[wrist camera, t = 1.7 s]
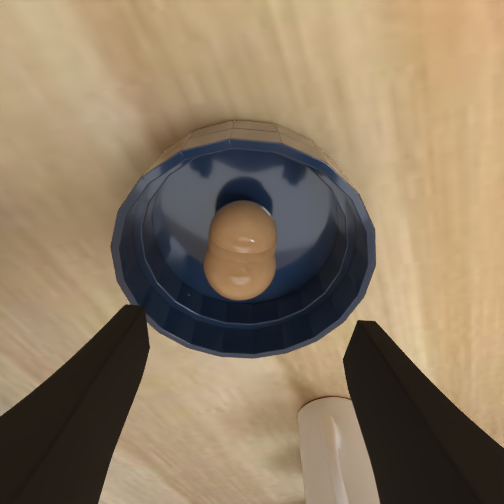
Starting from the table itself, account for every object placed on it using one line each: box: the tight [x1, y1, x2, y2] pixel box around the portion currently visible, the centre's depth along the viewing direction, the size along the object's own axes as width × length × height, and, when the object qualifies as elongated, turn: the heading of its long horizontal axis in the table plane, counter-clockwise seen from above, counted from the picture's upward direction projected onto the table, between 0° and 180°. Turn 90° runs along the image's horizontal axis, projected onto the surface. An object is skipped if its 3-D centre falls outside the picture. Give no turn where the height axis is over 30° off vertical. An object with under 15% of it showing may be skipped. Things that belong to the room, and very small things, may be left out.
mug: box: [297, 397, 380, 504], centre depth 24 cm, size 10×7×12 cm, turn 18°
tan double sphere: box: [203, 200, 278, 301], centre depth 17 cm, size 6×4×4 cm
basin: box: [111, 120, 376, 358], centre depth 17 cm, size 13×13×4 cm
